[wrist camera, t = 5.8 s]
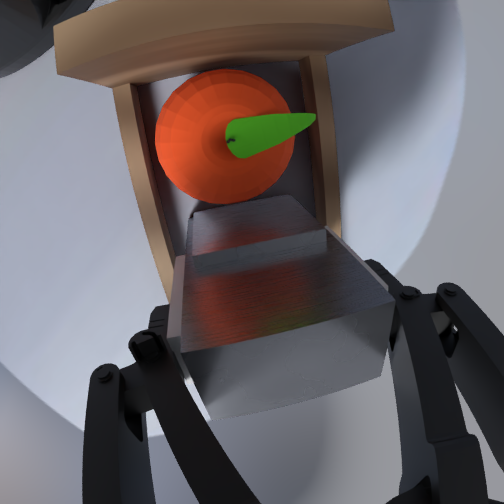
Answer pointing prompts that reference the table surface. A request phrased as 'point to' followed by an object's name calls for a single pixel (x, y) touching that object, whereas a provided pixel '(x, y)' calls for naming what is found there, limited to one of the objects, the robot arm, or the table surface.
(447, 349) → the robot arm
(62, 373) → the table surface
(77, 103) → the table surface
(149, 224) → the frame
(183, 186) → the clementine
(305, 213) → the block
